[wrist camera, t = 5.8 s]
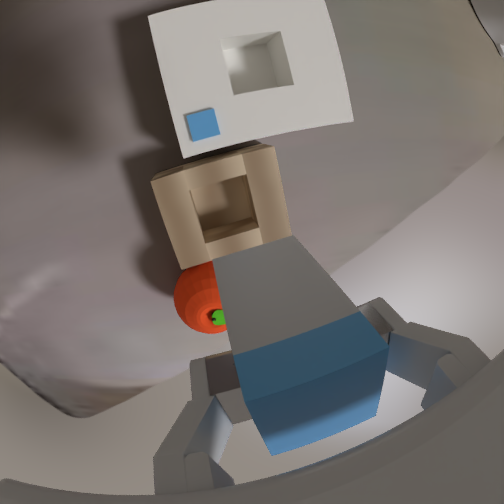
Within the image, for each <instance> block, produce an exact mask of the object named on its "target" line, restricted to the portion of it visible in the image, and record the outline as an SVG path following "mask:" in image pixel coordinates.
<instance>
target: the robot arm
mask: <svg viewBox="0 0 504 504" xmlns="http://www.w3.org/2000/svg"><path fill="white" fill-rule="evenodd" d="M471 2H472V5H473V7H474V9H475V12H476V14H477V16H478V18H479V20H480V21H481V23H482V25H483V27H484V28H485V30H486V31H487V33H488V34H489V35H490V37H491V38H492V40H493V41H494V43H495V44H496V47H497V49H498V51H499V53H500V55H501V56H502V57H503V58H504V0H471ZM357 308H358V309H359V310H360V312H361V313H362V314H363V315H364V316H365V318H366V319H367V320H368V321H369V322H370V324H371V325H372V326H373V327H374V328H375V330H376V331H377V332H378V333H379V334H380V336H381V337H382V338H383V339H384V340H385V342H386V343H387V344H388V345H389V353H388V359H387V365H386V370H387V371H389V372H391V373H393V374H395V375H397V376H399V377H401V378H403V379H405V380H407V381H409V382H411V383H413V384H416V385H418V386H420V387H422V388H424V389H426V390H427V391H426V393H425V395H424V398H423V400H422V403H421V406H422V408H423V409H424V411H422V412H420V413H419V414H417V415H416V416H414V417H412V418H411V419H409V420H407V421H405V422H403V423H402V424H400V425H398V426H396V427H394V428H392V429H391V430H389V431H387V432H385V433H383V434H381V435H379V436H377V437H375V438H373V439H371V440H369V441H367V442H365V443H362V444H360V445H358V446H356V447H354V448H351V449H349V450H347V451H344V452H342V453H340V454H337V455H335V456H332V457H329V458H327V459H324V460H322V461H319V462H316V463H313V464H310V465H308V466H305V467H302V468H299V469H296V470H292V471H289V472H286V473H282V474H279V475H275V476H272V477H268V478H264V479H260V480H256V481H252V482H247V483H243V484H238V485H235V483H234V479H233V478H232V477H231V476H230V475H229V474H228V473H226V472H225V471H224V470H223V469H222V468H221V467H220V466H219V465H218V464H219V461H220V459H221V456H222V454H223V451H224V448H225V446H226V443H227V441H228V438H229V435H230V433H231V431H232V428H233V424H236V423H240V422H243V421H247V420H250V419H252V417H251V415H250V413H249V411H248V408H247V406H246V404H245V402H244V398H243V394H242V391H241V387H240V382H239V378H238V374H237V370H236V366H235V362H234V358H233V353H232V350H231V351H227V352H223V353H219V354H215V355H211V356H206V357H204V358H199V359H195V360H191V361H190V376H191V377H190V378H191V391H192V401H188V402H187V404H186V405H185V407H184V409H183V410H182V412H181V414H180V415H179V417H178V418H177V420H176V422H175V423H174V425H173V426H172V429H171V430H170V431H169V433H168V435H167V436H166V438H165V439H164V441H163V443H162V444H161V446H160V447H159V449H158V451H157V452H156V454H155V456H154V457H153V460H154V461H153V462H154V486H155V495H104V494H91V493H80V492H72V491H65V490H58V489H52V488H47V487H42V486H37V485H32V484H28V483H23V482H19V481H16V480H12V479H2V480H1V481H0V504H504V350H503V351H502V352H500V353H499V354H498V355H497V356H496V357H495V358H494V359H492V360H490V359H489V358H488V357H487V356H486V355H485V354H484V353H483V352H482V351H481V350H480V349H479V348H478V347H477V346H476V345H475V344H474V343H473V342H472V341H471V340H470V339H469V338H467V337H463V336H459V335H456V334H452V333H449V332H445V331H441V330H437V329H434V328H431V327H427V326H423V325H420V324H416V323H413V322H409V323H406V322H405V321H404V320H403V319H402V318H401V317H400V316H399V314H397V313H396V311H395V310H394V309H393V308H392V307H391V306H390V305H389V304H388V303H387V302H386V301H385V300H384V299H383V298H380V297H378V298H376V299H374V300H372V301H369V302H367V303H365V304H363V305H360V306H357Z"/></svg>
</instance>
